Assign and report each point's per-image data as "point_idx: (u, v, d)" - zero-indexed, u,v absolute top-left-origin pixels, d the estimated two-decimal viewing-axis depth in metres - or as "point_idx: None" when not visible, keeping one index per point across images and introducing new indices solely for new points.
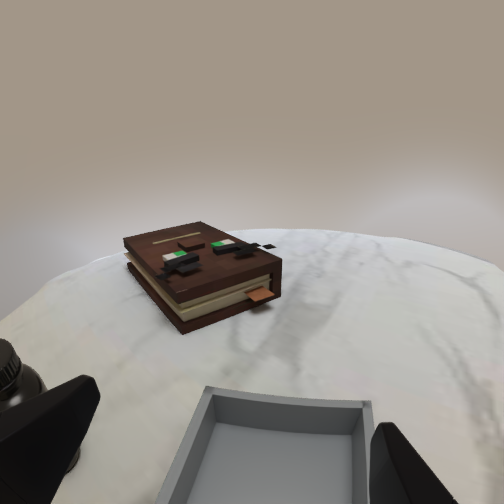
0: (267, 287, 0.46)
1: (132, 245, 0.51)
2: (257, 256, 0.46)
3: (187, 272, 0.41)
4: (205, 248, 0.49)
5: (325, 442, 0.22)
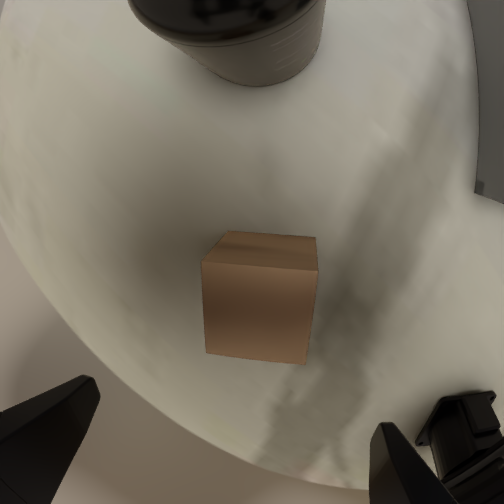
0: None
1: None
2: None
3: None
4: None
5: None
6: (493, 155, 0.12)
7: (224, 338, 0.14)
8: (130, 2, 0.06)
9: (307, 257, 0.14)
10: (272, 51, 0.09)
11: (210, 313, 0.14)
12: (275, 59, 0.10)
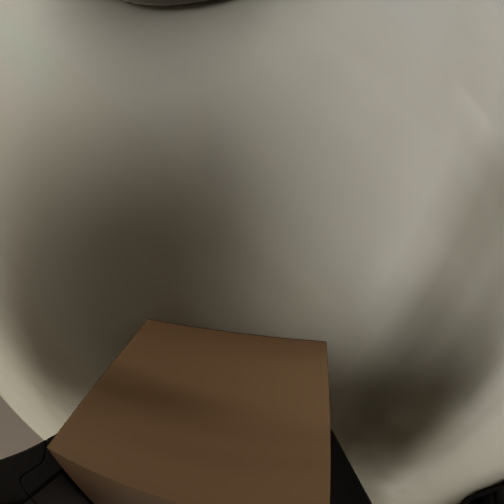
0: None
1: None
2: None
3: None
4: None
5: None
6: None
7: None
8: None
9: (305, 448, 0.05)
10: None
11: None
12: None
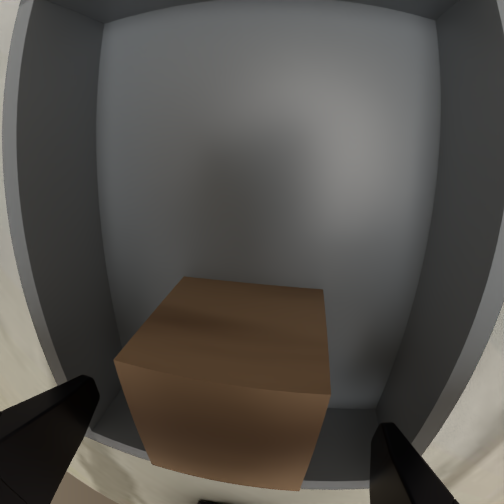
0: None
1: None
2: None
3: None
4: None
5: (373, 27, 0.07)
6: None
7: (173, 456, 0.08)
8: None
9: (310, 349, 0.07)
10: None
11: (145, 428, 0.07)
12: None
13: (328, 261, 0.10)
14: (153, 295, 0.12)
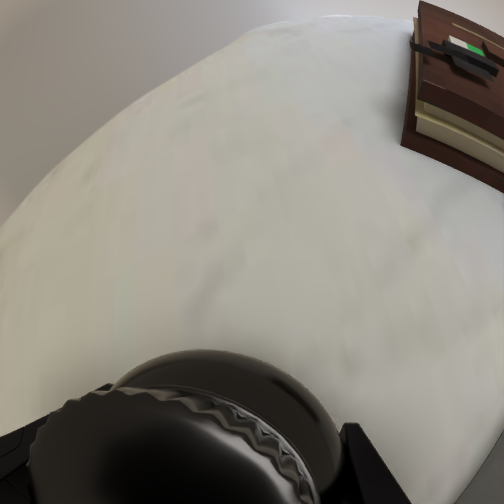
0: None
1: (423, 9, 0.21)
2: None
3: (465, 73, 0.15)
4: None
5: None
6: None
7: None
8: None
9: None
10: None
11: None
12: None
13: None
14: None
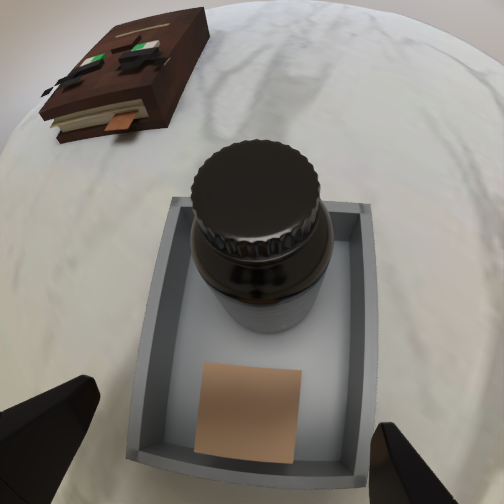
0: None
1: (103, 37, 0.37)
2: (140, 73, 0.28)
3: (72, 85, 0.30)
4: (130, 50, 0.32)
5: None
6: None
7: (214, 436, 0.13)
8: (195, 216, 0.14)
9: None
10: (243, 312, 0.15)
11: (204, 410, 0.14)
12: (246, 317, 0.16)
13: (299, 359, 0.19)
14: (200, 379, 0.19)
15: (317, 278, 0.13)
